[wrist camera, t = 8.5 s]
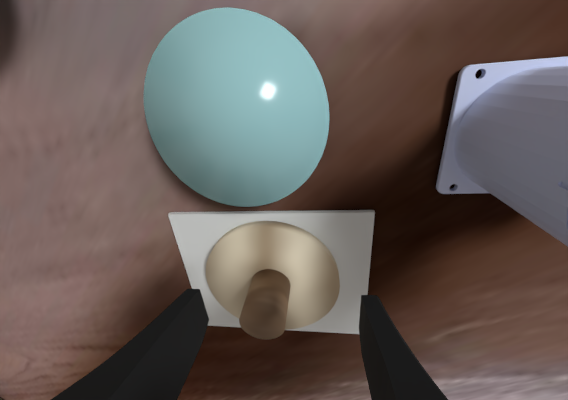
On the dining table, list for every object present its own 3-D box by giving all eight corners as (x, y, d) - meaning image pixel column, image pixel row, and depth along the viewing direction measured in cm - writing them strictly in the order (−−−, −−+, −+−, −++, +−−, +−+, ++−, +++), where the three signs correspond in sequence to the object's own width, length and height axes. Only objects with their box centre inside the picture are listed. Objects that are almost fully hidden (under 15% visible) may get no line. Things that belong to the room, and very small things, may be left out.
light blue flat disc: (327, 8, 14) (329, -7, 11) (327, 187, 19) (329, 205, 16) (149, 30, 16) (115, 21, 13) (191, 190, 21) (172, 207, 18)
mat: (373, 209, 19) (374, 212, 19) (363, 330, 25) (363, 334, 25) (170, 212, 22) (167, 214, 21) (205, 322, 28) (203, 325, 28)
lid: (329, 212, 19) (332, 252, 15) (345, 318, 24) (351, 372, 20) (191, 229, 22) (158, 268, 17) (231, 322, 27) (214, 372, 22)
